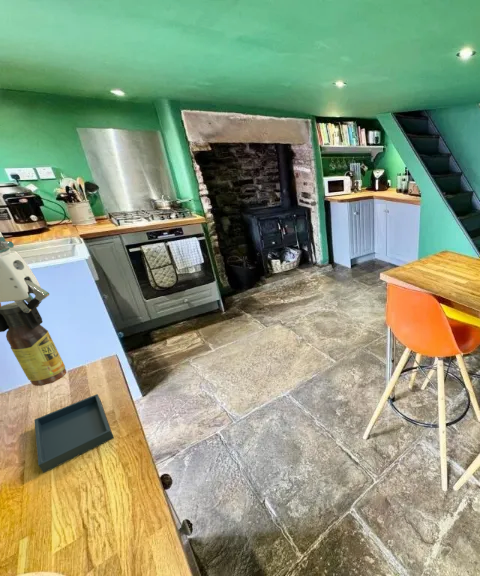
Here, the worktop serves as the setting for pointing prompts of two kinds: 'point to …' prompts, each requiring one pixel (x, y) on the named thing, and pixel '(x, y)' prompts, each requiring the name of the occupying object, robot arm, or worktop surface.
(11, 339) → the sauce bottle
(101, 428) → the tray
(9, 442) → the worktop surface
